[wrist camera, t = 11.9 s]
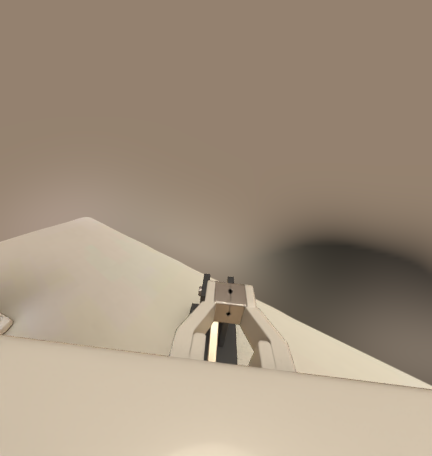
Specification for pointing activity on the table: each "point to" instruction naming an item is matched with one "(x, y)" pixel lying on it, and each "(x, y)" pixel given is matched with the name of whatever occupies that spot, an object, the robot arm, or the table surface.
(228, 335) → the bracket
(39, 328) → the table surface
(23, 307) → the table surface
